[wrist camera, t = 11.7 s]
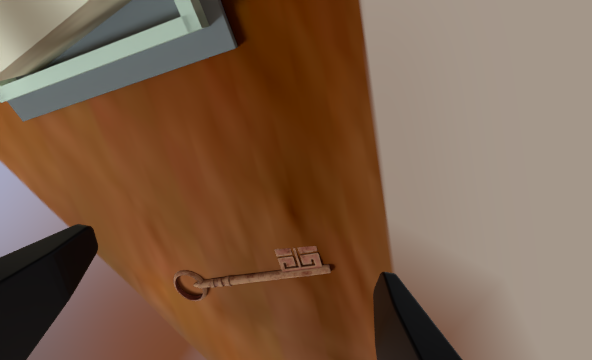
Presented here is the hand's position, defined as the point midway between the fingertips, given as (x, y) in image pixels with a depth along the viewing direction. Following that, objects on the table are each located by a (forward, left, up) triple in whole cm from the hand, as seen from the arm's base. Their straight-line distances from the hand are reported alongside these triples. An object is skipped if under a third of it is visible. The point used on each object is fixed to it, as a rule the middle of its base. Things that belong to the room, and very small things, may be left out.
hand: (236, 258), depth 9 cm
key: (+14, +4, -13) cm, 19 cm away
